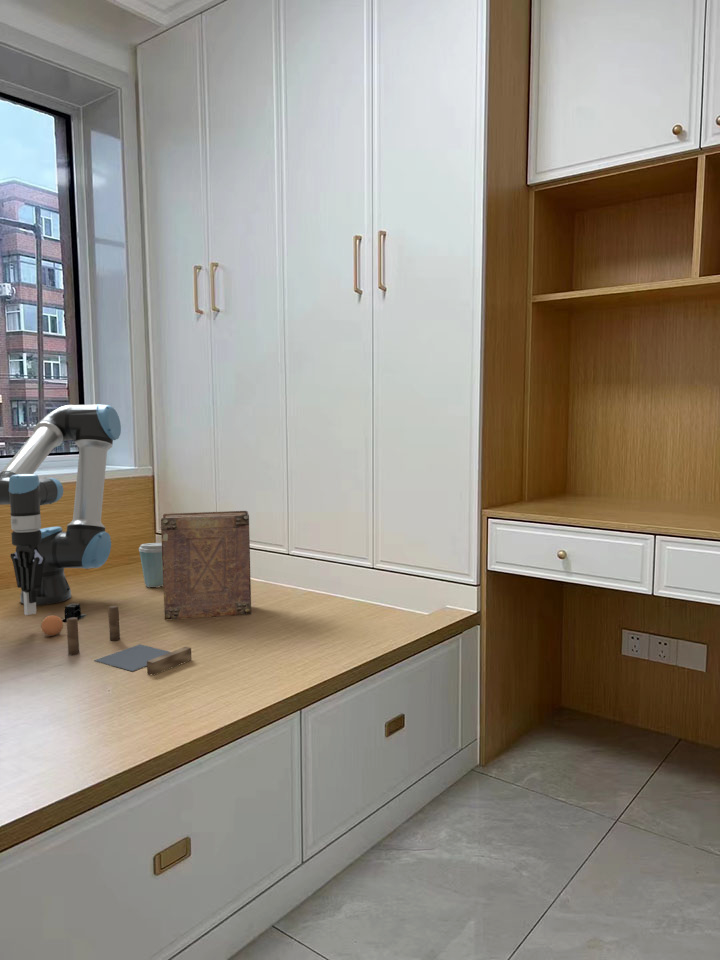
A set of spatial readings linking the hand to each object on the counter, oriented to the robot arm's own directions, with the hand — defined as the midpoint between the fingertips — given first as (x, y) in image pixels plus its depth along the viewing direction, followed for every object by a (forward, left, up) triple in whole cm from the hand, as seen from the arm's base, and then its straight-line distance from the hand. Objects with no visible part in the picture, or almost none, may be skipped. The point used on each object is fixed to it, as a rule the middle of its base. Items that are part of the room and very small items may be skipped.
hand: (30, 613), depth 203 cm
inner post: (-7, +27, -5) cm, 29 cm away
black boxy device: (-14, 0, -6) cm, 15 cm away
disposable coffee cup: (-53, -10, -5) cm, 55 cm away
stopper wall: (0, +55, -5) cm, 56 cm away
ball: (0, +9, -2) cm, 10 cm away
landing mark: (0, +43, -5) cm, 44 cm away
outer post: (+6, +27, -5) cm, 28 cm away
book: (-38, +30, -5) cm, 49 cm away
